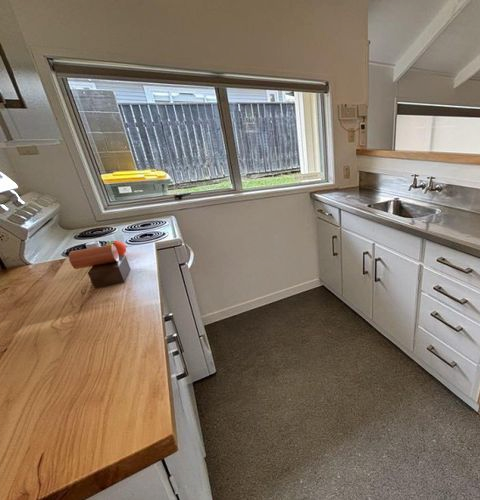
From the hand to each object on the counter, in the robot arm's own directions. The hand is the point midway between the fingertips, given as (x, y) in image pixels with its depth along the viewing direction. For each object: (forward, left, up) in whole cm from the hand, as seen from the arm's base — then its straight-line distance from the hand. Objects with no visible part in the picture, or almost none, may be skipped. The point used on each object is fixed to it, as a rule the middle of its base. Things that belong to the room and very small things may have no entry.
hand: (13, 208), depth 81 cm
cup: (+13, +1, -21) cm, 25 cm away
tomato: (+12, +24, -28) cm, 38 cm away
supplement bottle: (+7, +21, -28) cm, 36 cm away
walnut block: (+15, +1, -27) cm, 31 cm away
